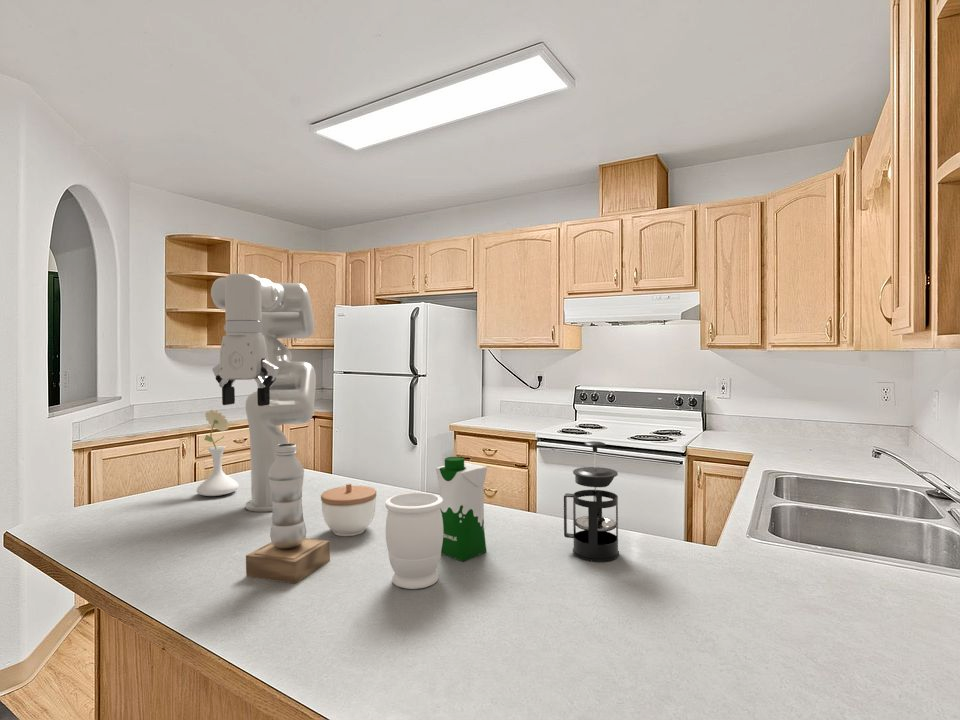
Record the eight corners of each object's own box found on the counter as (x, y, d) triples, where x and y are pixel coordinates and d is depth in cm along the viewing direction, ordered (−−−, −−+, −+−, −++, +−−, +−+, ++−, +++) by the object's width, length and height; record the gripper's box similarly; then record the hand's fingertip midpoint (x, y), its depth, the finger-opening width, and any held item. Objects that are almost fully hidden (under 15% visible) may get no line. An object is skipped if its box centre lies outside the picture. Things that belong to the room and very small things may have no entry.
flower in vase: (245, 493, 160) (243, 409, 159) (205, 501, 152) (202, 413, 151) (228, 485, 169) (225, 406, 168) (188, 493, 161) (186, 410, 160)
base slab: (284, 554, 112) (283, 534, 112) (329, 560, 109) (329, 540, 109) (246, 576, 102) (245, 554, 101) (295, 583, 98) (295, 561, 98)
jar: (452, 572, 102) (451, 494, 102) (430, 596, 93) (428, 510, 92) (402, 565, 106) (401, 489, 105) (375, 588, 96) (374, 504, 96)
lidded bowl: (310, 536, 123) (309, 488, 122) (343, 519, 134) (342, 475, 134) (356, 543, 118) (355, 493, 118) (387, 525, 130) (386, 480, 129)
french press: (624, 547, 114) (623, 439, 113) (620, 565, 105) (620, 447, 104) (568, 541, 117) (567, 436, 117) (560, 558, 108) (559, 444, 108)
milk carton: (432, 553, 112) (431, 457, 111) (463, 541, 119) (462, 451, 118) (462, 564, 106) (461, 463, 105) (493, 551, 113) (492, 456, 112)
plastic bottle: (299, 552, 102) (297, 448, 102) (264, 552, 102) (262, 448, 102) (311, 540, 109) (309, 441, 108) (277, 540, 109) (275, 442, 108)
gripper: (200, 329, 120) (202, 405, 121) (264, 328, 115) (266, 407, 116) (225, 330, 128) (227, 402, 128) (287, 328, 122) (288, 403, 123)
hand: (246, 404), depth 122 cm, fingers open, 9 cm apart
